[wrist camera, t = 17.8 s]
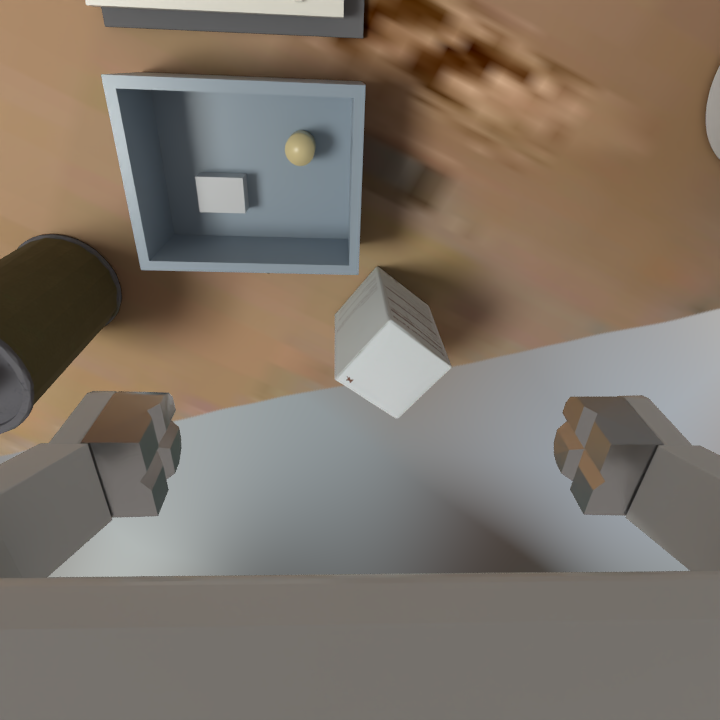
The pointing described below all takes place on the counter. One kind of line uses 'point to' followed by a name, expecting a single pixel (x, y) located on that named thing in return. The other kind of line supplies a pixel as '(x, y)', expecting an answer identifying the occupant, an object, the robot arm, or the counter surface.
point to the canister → (48, 316)
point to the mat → (241, 21)
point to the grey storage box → (240, 171)
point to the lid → (236, 6)
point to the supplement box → (387, 345)
